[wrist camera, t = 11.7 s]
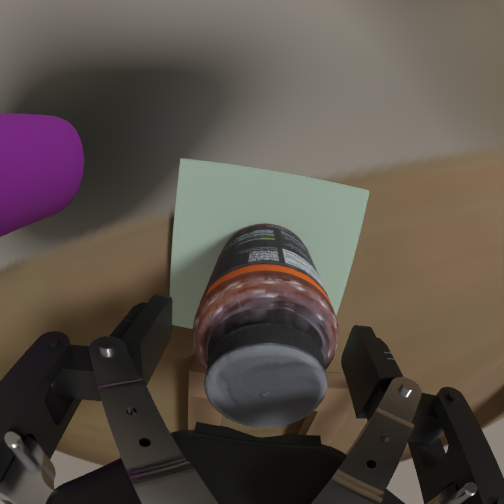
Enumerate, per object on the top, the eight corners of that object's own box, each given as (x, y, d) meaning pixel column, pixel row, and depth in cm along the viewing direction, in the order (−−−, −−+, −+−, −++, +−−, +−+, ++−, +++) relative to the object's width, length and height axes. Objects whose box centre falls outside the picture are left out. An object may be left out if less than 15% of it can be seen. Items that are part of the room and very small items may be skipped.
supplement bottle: (251, 319, 20) (238, 456, 10) (201, 251, 19) (133, 364, 8) (326, 278, 19) (379, 405, 8) (280, 202, 18) (303, 277, 7)
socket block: (356, 373, 23) (362, 389, 21) (312, 455, 27) (313, 468, 25) (194, 354, 23) (189, 370, 21) (191, 442, 27) (187, 455, 25)
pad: (366, 189, 18) (369, 190, 17) (324, 343, 22) (325, 348, 21) (183, 158, 18) (180, 158, 17) (171, 320, 22) (169, 324, 21)
